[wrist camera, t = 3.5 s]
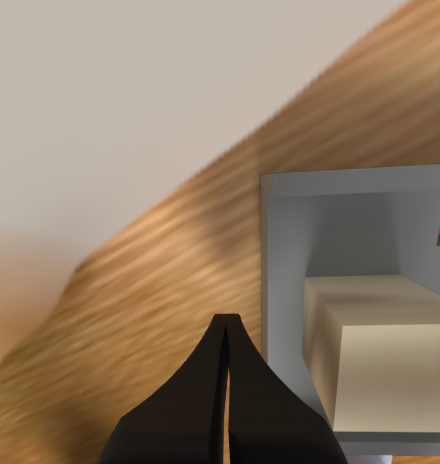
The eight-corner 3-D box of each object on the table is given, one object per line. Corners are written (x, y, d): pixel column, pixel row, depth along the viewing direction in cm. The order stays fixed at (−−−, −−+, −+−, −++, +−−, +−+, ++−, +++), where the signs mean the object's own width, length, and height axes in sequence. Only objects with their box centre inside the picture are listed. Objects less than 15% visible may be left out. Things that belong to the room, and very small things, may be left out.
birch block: (389, 354, 12) (461, 432, 9) (301, 355, 13) (333, 431, 9) (401, 274, 11) (490, 323, 7) (304, 277, 12) (342, 325, 8)
